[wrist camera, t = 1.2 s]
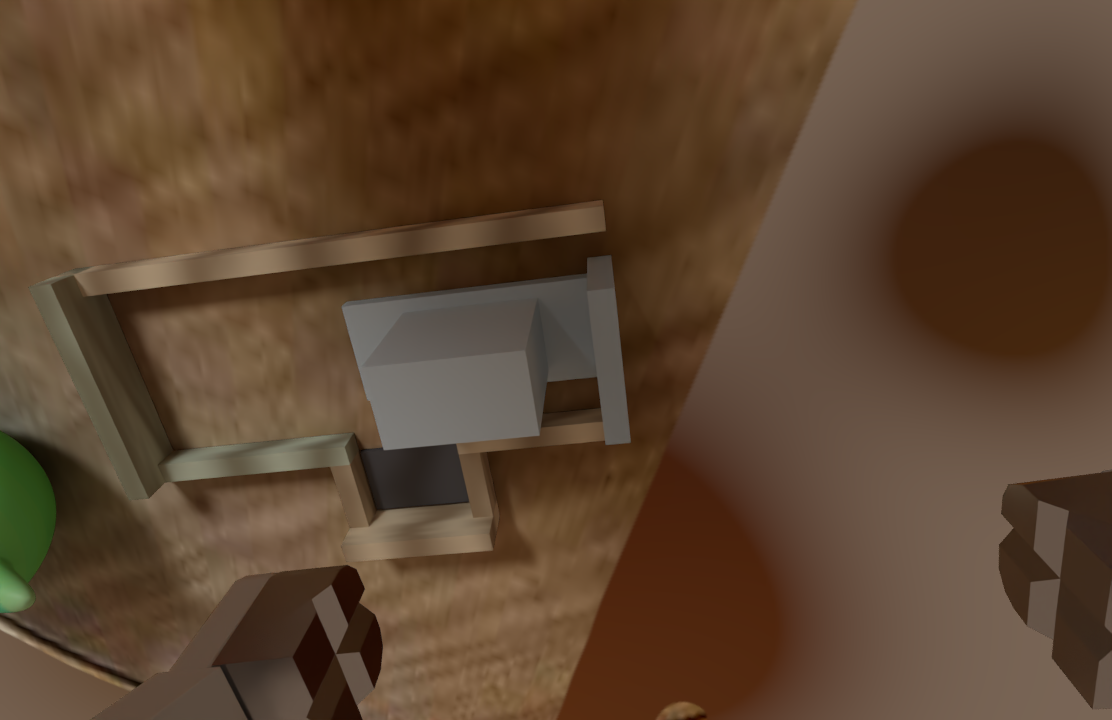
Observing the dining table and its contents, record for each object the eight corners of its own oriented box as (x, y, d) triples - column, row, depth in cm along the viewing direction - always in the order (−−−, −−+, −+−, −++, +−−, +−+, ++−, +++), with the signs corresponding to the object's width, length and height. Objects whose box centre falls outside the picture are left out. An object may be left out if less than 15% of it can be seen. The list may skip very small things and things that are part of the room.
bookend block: (610, 250, 43) (616, 300, 34) (624, 383, 47) (632, 461, 37) (342, 282, 45) (278, 338, 35) (377, 408, 48) (327, 488, 39)
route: (602, 199, 41) (604, 212, 38) (635, 504, 50) (639, 538, 47) (73, 268, 45) (28, 287, 41) (194, 542, 54) (165, 576, 50)
